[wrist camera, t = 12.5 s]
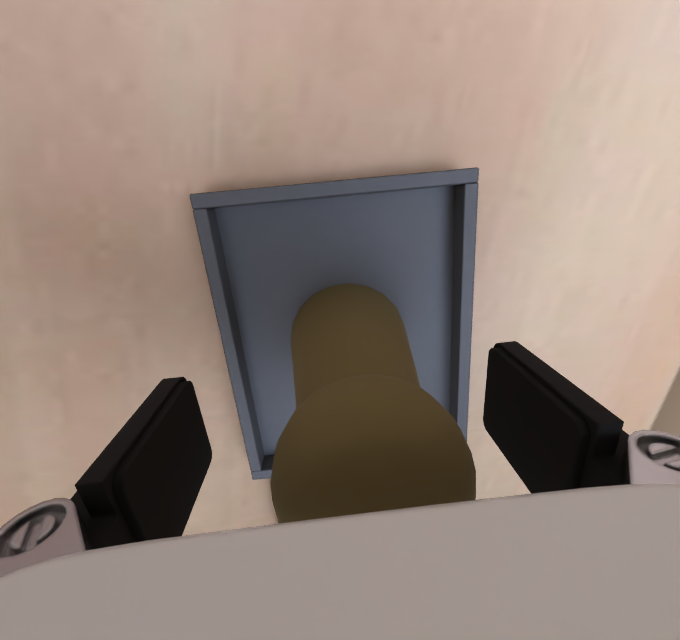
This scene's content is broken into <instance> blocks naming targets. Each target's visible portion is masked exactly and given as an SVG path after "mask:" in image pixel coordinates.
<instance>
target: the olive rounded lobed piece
mask: <svg viewBox="0 0 680 640" xmlns="http://www.w3.org/2000/svg"><path fill="white" fill-rule="evenodd" d="M291 351H292V363H293V375H294V387H295V399H296V410H295V411H294V413H293V414H292V416H291V418H290V419H289V421H288V423H287V425H286V427H285V428H284V430H283V432H282V434H281V436H280V437H279V439H278V441H277V445H276V450H275V454H274V459H273V467H272V474H271V482H270V484H271V493H272V501H273V505H274V508H275V512H276V516H277V519H278V523H279V524H280V523H288V522H296V521H304V520H312V519H320V518H328V517H337V516H345V515H353V514H361V513H370V512H378V511H386V510H395V509H403V508H411V507H420V506H428V505H437V504H445V503H454V502H463V501H472V500H475V498H476V471H475V466H474V462H473V458H472V453H471V451H470V449H469V447H468V444H467V442H466V440H465V438H464V435H463V433H462V431H461V429H460V427H459V426H458V424H457V423H456V421H455V419H454V418H453V416H452V415H451V414H450V413H449V412H448V411H447V410H446V409H445V408H444V407H443V406H442V405H441V404H440V403H439V402H438V401H437V400H436V399H435V398H434V397H433V396H431V395H430V394H429V393H428V392H426V391H425V390H424V389H422V388H421V387H420V383H419V379H418V375H417V371H416V368H415V364H414V360H413V356H412V353H411V349H410V345H409V341H408V337H407V334H406V330H405V326H404V322H403V320H402V318H401V316H400V314H399V312H398V309H397V307H396V306H395V305H394V304H393V303H392V302H391V301H390V300H389V299H388V298H387V297H386V296H385V295H384V294H382V293H380V292H378V291H376V290H374V289H373V288H371V287H369V286H364V285H357V284H351V283H348V284H341V285H335V286H330V287H328V288H326V289H324V290H322V291H320V292H318V293H316V294H314V295H313V296H312V297H311V298H310V299H309V300H308V301H307V302H306V303H305V304H304V305H303V306H302V307H301V308H300V310H299V312H298V314H297V316H296V318H295V320H294V322H293V325H292V333H291Z"/></svg>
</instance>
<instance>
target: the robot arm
mask: <svg viewBox="0 0 680 640" xmlns="http://www.w3.org/2000/svg"><path fill="white" fill-rule="evenodd" d="M483 422H484V426H485V429H486V430H487V432H488V433H489V435H490V436H491V437H492V439H493V440H494V442H495V443H496V444H497V446H498V447H499V449H500V450H501V452H502V453H503V454H504V456H505V457H506V459H507V460H508V461H509V463H510V464H511V466H512V467H513V468H514V470H515V471H516V473H517V474H518V475H519V477H520V478H521V480H522V481H523V482H524V484H525V485H526V487H527V488H528V490H529V491H530V492H531V494H524V495H515V496H507V497H498V498H489V499H480V500H472V501H463V502H454V503H445V504H437V505H428V506H420V507H411V508H403V509H395V510H386V511H378V512H370V513H361V514H353V515H345V516H337V517H328V518H320V519H312V520H304V521H296V522H288V523H280V524H272V525H264V526H256V527H249V528H241V529H233V530H225V531H217V532H209V533H201V534H193V535H186V536H182V534H183V531H184V529H185V526H186V524H187V521H188V519H189V516H190V513H191V511H192V508H193V506H194V503H195V501H196V498H197V496H198V493H199V491H200V488H201V486H202V483H203V481H204V478H205V475H206V473H207V470H208V468H209V465H210V463H211V459H212V450H211V446H210V443H209V439H208V436H207V432H206V429H205V425H204V422H203V418H202V415H201V411H200V408H199V404H198V401H197V397H196V394H195V390H194V387H193V384H192V382H191V381H187V380H186V379H185V378H184V377H178V378H168V379H163V380H162V381H161V382H160V383H159V384H158V385H157V386H156V388H155V389H154V390H153V391H152V393H151V394H150V395H149V396H148V397H147V399H146V400H145V401H144V402H143V403H142V405H141V406H140V407H139V408H138V409H137V411H136V412H135V413H134V414H133V415H132V417H131V418H130V419H129V420H128V421H127V423H126V424H125V425H124V426H123V428H122V429H121V430H120V431H119V432H118V434H117V435H116V436H115V437H114V438H113V440H112V441H111V442H110V443H109V444H108V446H107V447H106V448H105V449H104V450H103V452H102V453H101V454H100V455H99V456H98V458H97V459H96V460H95V461H94V462H93V464H92V465H91V466H90V467H89V469H88V470H87V471H86V472H85V473H84V475H83V476H82V477H81V478H80V479H79V481H78V482H77V483H76V484H75V487H76V489H77V492H76V493H75V494H74V496H73V497H72V498H71V499H67V498H54V499H51V500H47V501H43V502H41V503H39V504H36V505H34V506H32V507H30V508H28V509H26V510H24V511H23V512H21V513H19V514H18V515H16V516H15V517H13V518H12V519H11V520H9V521H8V522H7V523H5V524H4V525H3V526H2V527H1V528H0V640H680V437H679V436H676V435H673V434H670V433H666V432H661V431H656V430H640V431H635V432H633V433H632V434H630V435H628V434H627V433H626V432H624V431H623V430H622V427H623V423H624V421H622V420H621V419H619V418H618V417H617V416H615V415H614V414H613V413H611V412H610V411H609V410H607V409H606V408H605V407H603V406H602V405H601V404H599V403H598V402H597V401H595V400H594V399H593V398H591V397H590V396H589V395H587V394H586V393H585V392H583V391H582V390H581V389H579V388H578V387H577V386H575V385H574V384H573V383H571V382H570V381H569V380H567V379H566V378H565V377H563V376H562V375H561V374H559V373H558V372H557V371H555V370H554V369H553V368H551V367H550V366H549V365H547V364H546V363H545V362H543V361H542V360H541V359H539V358H538V357H537V356H535V355H534V354H533V353H531V352H530V351H529V350H527V349H526V348H525V347H523V346H522V345H521V344H519V343H518V342H516V341H513V342H504V343H496V344H495V346H494V348H491V349H490V350H489V355H488V367H487V379H486V391H485V403H484V415H483Z"/></svg>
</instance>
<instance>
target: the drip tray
mask: <svg viewBox="0 0 680 640" xmlns="http://www.w3.org/2000/svg"><path fill="white" fill-rule="evenodd" d="M478 175H479V168H466V169H456V170H445V171H434V172H423V173H413V174H402V175H391V176H380V177H370V178H359V179H348V180H337V181H327V182H316V183H305V184H294V185H284V186H273V187H262V188H251V189H240V190H230V191H219V192H208V193H197V194H190V200H191V204H192V208H193V209H194V210H193V213H194V218H195V222H196V227H197V231H198V236H199V240H200V245H201V249H202V254H203V258H204V263H205V267H206V272H207V276H208V281H209V285H210V290H211V294H212V299H213V303H214V308H215V312H216V317H217V321H218V326H219V330H220V335H221V339H222V344H223V348H224V353H225V357H226V362H227V366H228V371H229V375H230V380H231V384H232V389H233V393H234V398H235V402H236V407H237V411H238V416H239V420H240V425H241V429H242V434H243V438H244V443H245V447H246V452H247V456H248V461H249V465H250V470H251V474H252V479H253V480H256V479H266V478H271V474H272V467H273V459H274V454H275V450H276V445H277V441H278V439H279V437H280V436H281V434H282V432H283V430H284V428H285V427H286V425H287V423H288V421H289V419H290V418H291V416H292V414H293V413H294V411H295V410H296V399H295V387H294V375H293V363H292V351H291V333H292V325H293V322H294V320H295V318H296V316H297V314H298V312H299V310H300V308H301V307H302V306H303V305H304V304H305V303H306V302H307V301H308V300H309V299H310V298H311V297H312V296H313V295H314V294H316V293H318V292H320V291H322V290H324V289H326V288H328V287H330V286H335V285H341V284H348V283H351V284H357V285H364V286H369V287H371V288H373V289H374V290H376V291H378V292H380V293H382V294H384V295H385V296H386V297H387V298H388V299H389V300H390V301H391V302H392V303H393V304H394V305H395V306H396V307H397V309H398V312H399V314H400V316H401V318H402V320H403V322H404V326H405V330H406V334H407V337H408V341H409V345H410V349H411V353H412V356H413V360H414V364H415V368H416V371H417V375H418V379H419V383H420V387H421V388H422V389H424V390H425V391H426V392H428V393H429V394H430V395H431V396H433V397H434V398H435V399H436V400H437V401H438V402H439V403H440V404H441V405H442V406H443V407H444V408H445V409H446V410H447V411H448V412H449V413H450V414H451V415H452V416H453V418H454V419H455V421H456V423H457V424H458V426H459V427H460V429H461V431H462V433H463V435H464V438H465V440H466V442H467V423H468V401H469V379H470V356H471V334H472V312H473V290H474V267H475V245H476V223H477V200H478V183H477V182H478Z"/></svg>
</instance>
